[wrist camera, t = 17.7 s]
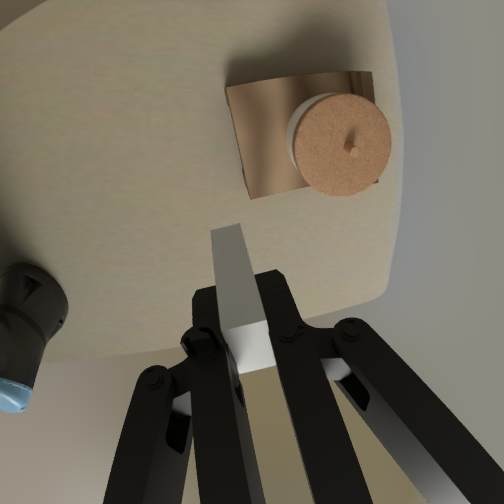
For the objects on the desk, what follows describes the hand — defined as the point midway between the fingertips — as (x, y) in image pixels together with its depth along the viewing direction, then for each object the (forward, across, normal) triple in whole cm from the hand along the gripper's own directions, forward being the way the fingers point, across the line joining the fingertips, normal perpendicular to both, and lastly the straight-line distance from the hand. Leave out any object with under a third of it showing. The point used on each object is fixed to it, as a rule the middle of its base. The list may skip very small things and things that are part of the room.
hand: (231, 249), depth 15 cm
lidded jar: (+21, +13, 0) cm, 24 cm away
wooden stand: (+24, +11, 0) cm, 27 cm away
